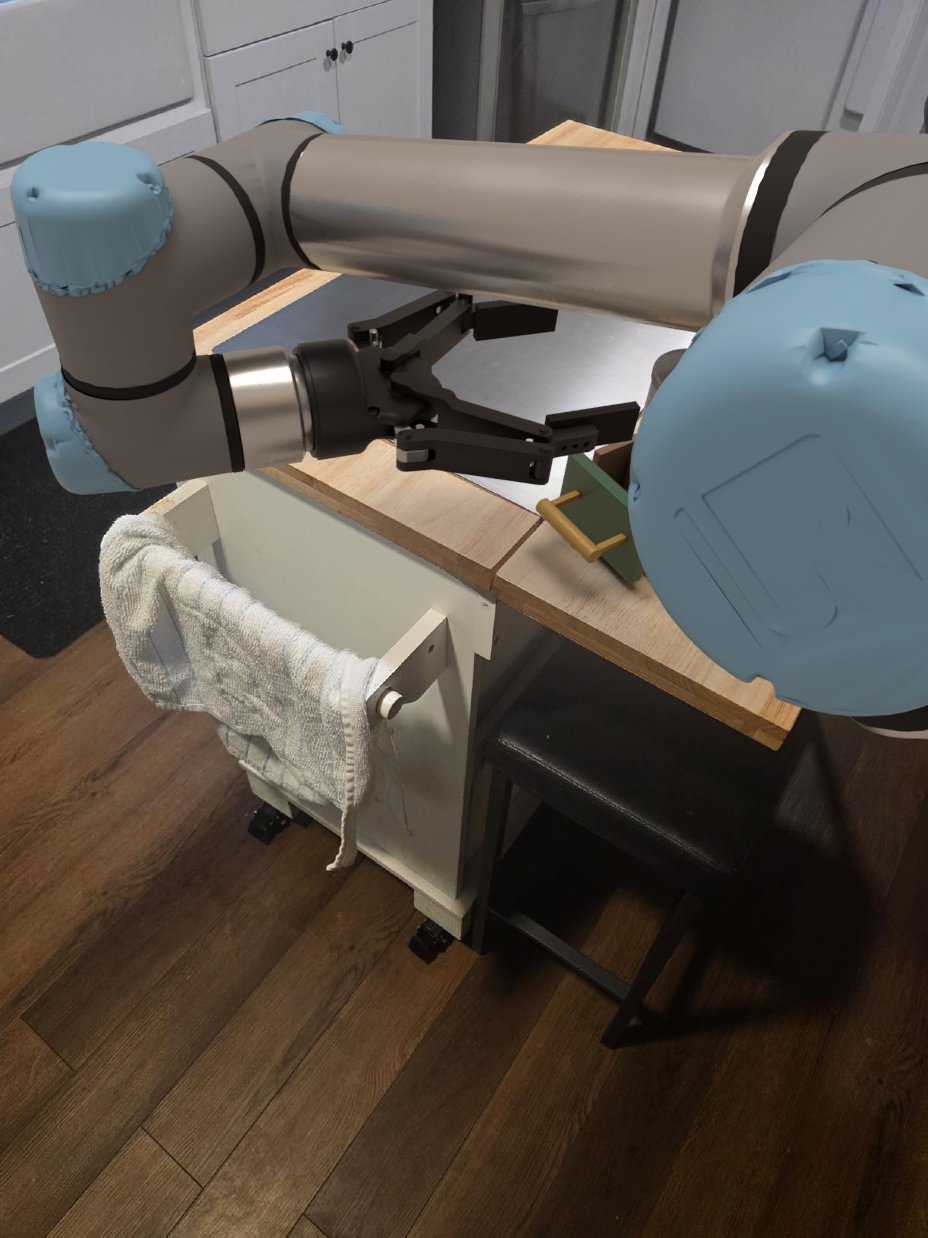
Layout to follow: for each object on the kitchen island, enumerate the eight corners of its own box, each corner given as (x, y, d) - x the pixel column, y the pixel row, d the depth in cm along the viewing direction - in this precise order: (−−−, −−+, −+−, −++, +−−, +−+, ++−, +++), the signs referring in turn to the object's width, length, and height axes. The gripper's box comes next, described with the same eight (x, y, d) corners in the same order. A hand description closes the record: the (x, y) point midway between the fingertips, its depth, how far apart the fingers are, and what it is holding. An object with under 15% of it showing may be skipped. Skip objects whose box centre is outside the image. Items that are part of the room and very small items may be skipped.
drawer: (591, 604, 71) (608, 546, 66) (518, 528, 77) (528, 469, 71) (757, 521, 79) (782, 464, 74) (680, 458, 84) (699, 400, 79)
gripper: (268, 348, 67) (522, 317, 73) (347, 578, 53) (658, 518, 58) (258, 254, 62) (534, 229, 67) (344, 484, 47) (689, 427, 53)
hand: (592, 363), depth 63 cm, fingers open, 13 cm apart
